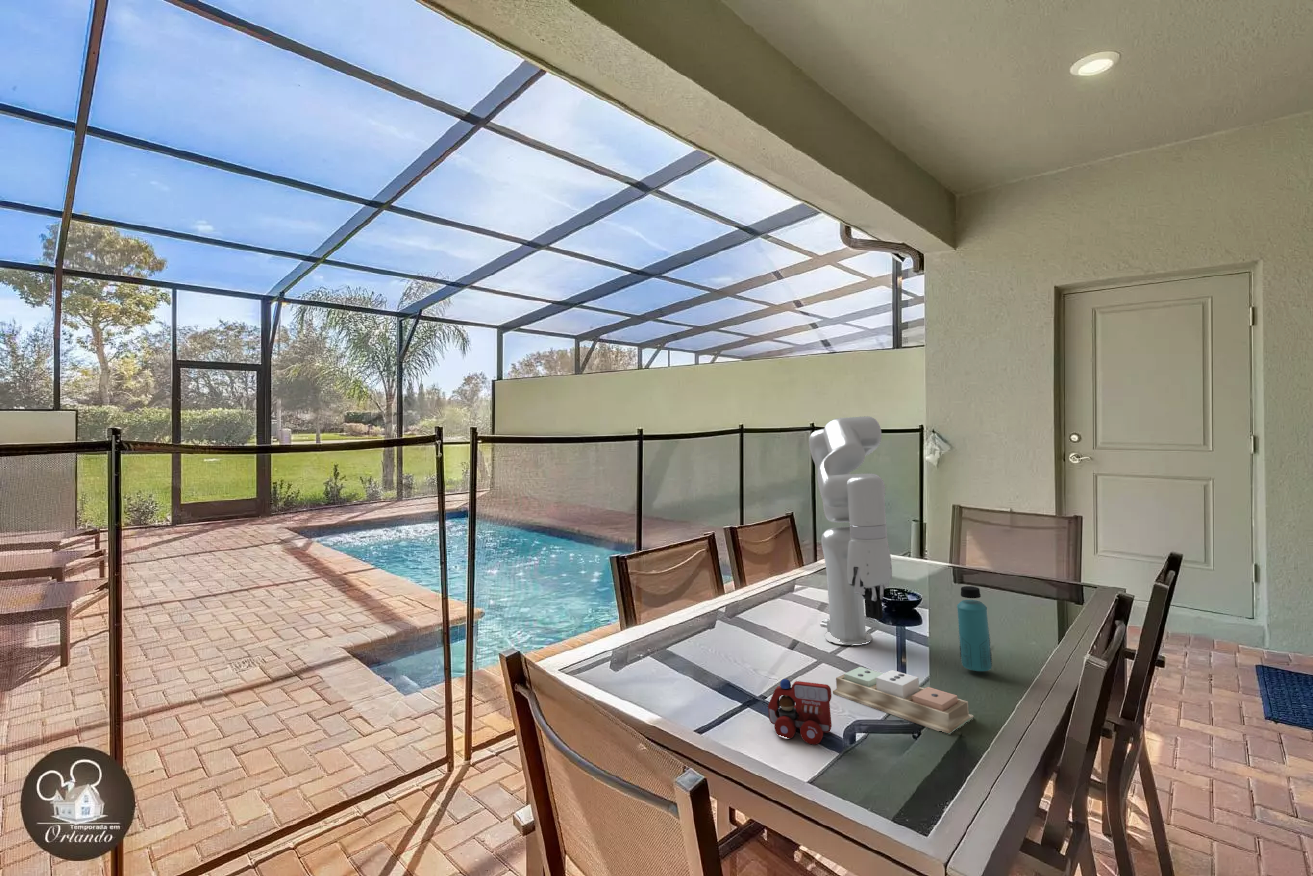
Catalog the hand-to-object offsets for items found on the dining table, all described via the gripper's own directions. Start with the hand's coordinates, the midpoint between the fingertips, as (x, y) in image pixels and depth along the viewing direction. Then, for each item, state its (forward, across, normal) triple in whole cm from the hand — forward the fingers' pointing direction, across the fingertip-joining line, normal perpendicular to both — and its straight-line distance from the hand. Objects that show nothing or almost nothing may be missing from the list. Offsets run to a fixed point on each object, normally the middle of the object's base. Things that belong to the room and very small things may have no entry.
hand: (874, 617), depth 126 cm
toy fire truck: (+18, +24, -1) cm, 30 cm away
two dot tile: (+17, 0, -4) cm, 17 cm away
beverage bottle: (+18, -29, +6) cm, 34 cm away
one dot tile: (+17, -1, +12) cm, 21 cm away
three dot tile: (+15, 0, +4) cm, 16 cm away
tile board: (+18, 0, +4) cm, 18 cm away
